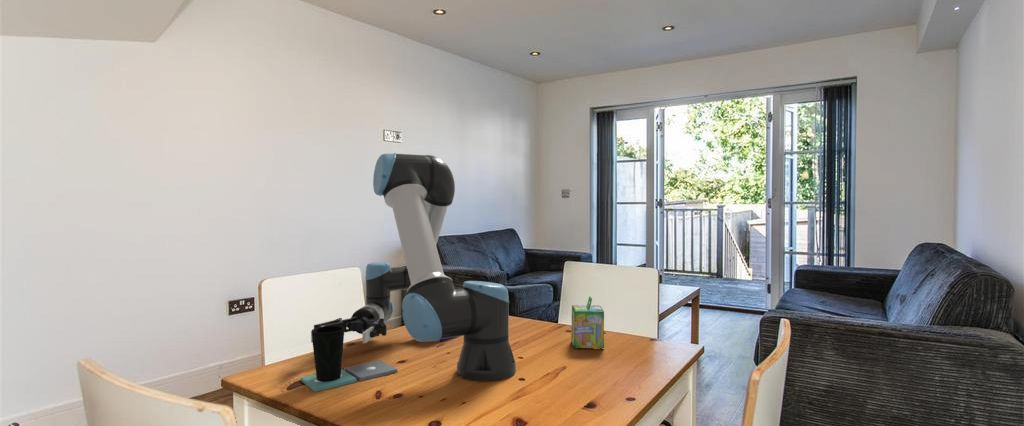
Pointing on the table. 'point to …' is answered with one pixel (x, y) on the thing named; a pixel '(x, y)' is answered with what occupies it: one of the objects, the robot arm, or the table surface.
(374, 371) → the tile one
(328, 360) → the cup
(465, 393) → the table surface
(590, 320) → the green printed box
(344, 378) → the tile two
